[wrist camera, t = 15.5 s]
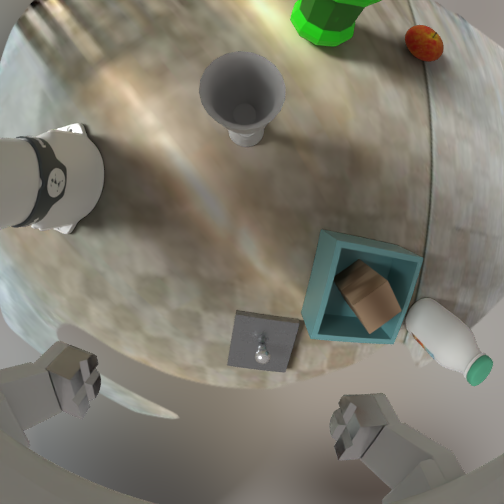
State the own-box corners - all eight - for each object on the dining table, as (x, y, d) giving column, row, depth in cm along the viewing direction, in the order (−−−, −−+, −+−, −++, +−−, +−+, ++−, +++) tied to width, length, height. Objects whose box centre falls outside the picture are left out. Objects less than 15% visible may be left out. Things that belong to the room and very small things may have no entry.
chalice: (278, 144, 37) (299, 113, 20) (233, 161, 38) (218, 143, 20) (258, 99, 35) (264, 41, 18) (214, 116, 36) (187, 69, 18)
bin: (301, 312, 43) (310, 338, 35) (321, 229, 40) (337, 240, 32) (374, 320, 44) (393, 344, 36) (397, 245, 40) (423, 257, 33)
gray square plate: (227, 360, 45) (225, 380, 40) (236, 310, 43) (234, 327, 37) (284, 367, 46) (287, 388, 40) (298, 319, 43) (304, 337, 38)
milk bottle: (398, 314, 44) (460, 379, 24) (429, 288, 42) (499, 339, 23) (411, 340, 45) (465, 403, 26) (440, 315, 44) (501, 368, 25)
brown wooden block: (346, 303, 42) (369, 334, 32) (331, 278, 41) (353, 305, 31) (372, 284, 41) (401, 310, 31) (359, 258, 40) (387, 280, 30)
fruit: (433, 70, 33) (458, 57, 25) (403, 61, 33) (426, 45, 25) (424, 39, 31) (447, 24, 23) (394, 30, 31) (415, 12, 23)
